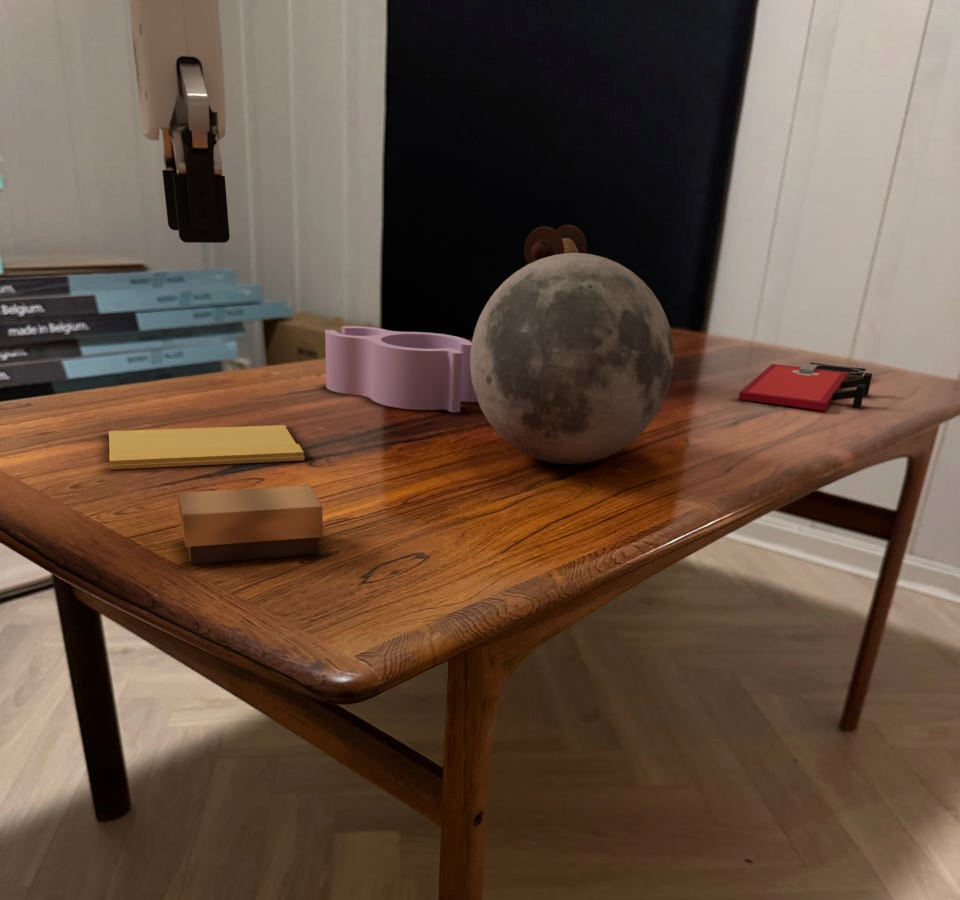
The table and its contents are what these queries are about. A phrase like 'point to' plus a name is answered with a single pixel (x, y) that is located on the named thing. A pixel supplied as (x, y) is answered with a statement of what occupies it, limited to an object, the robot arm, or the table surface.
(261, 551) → the brush
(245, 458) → the flat yellow board
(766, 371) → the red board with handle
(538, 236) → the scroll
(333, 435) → the table surface
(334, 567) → the table surface
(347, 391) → the pink curved hollow block
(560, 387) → the moon model
